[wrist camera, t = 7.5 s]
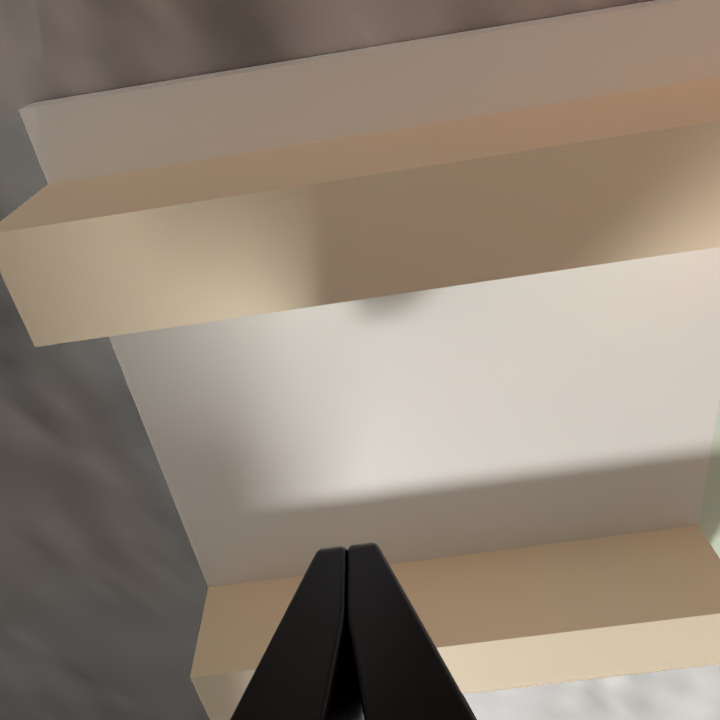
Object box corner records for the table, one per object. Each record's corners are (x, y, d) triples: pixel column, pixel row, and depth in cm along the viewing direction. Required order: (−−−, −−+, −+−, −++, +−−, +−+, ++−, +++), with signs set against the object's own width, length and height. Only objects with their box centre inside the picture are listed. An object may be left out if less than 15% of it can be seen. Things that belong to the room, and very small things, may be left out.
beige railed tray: (239, 641, 15) (224, 751, 13) (33, 103, 9) (-60, 146, 7) (1041, 542, 15) (1164, 643, 12) (1414, -125, 8) (1788, -154, 6)
